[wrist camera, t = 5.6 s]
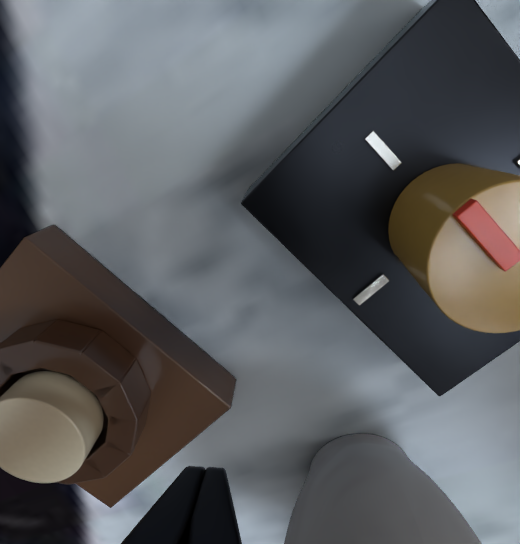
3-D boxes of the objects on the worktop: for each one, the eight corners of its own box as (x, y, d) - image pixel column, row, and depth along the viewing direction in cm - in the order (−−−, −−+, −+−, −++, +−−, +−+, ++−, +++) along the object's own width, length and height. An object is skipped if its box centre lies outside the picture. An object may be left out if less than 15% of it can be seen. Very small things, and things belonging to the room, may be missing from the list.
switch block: (237, 378, 20) (226, 437, 16) (126, 473, 22) (94, 543, 19) (53, 223, 18) (-8, 250, 14) (-46, 348, 20) (-121, 399, 16)
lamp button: (123, 413, 17) (106, 445, 15) (68, 464, 18) (46, 499, 16) (43, 351, 16) (15, 378, 14) (-10, 409, 17) (-42, 440, 15)
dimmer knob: (535, 224, 14) (640, 266, 10) (436, 300, 15) (494, 367, 11) (461, 135, 13) (543, 141, 9) (363, 224, 14) (396, 265, 10)
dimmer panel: (595, 224, 16) (664, 245, 13) (416, 357, 19) (441, 400, 16) (424, 6, 14) (461, -25, 11) (247, 189, 17) (239, 204, 14)
